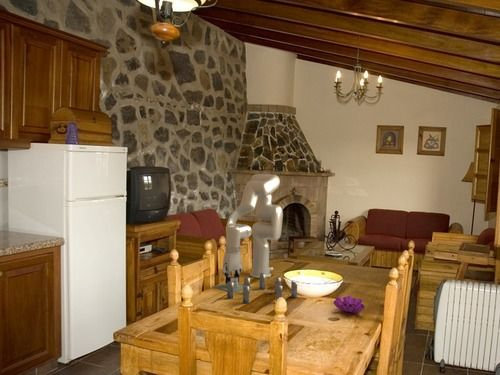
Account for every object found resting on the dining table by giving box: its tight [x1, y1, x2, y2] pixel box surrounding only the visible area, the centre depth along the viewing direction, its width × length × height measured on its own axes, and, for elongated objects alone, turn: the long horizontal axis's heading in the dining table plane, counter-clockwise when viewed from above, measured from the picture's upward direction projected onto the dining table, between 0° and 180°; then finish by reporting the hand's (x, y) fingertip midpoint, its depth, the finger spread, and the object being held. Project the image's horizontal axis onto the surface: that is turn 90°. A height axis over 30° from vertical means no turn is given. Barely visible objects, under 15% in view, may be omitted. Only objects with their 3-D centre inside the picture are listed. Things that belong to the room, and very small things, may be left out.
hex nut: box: [225, 275, 239, 288], centre depth 247 cm, size 6×6×5 cm
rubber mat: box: [213, 283, 251, 294], centre depth 247 cm, size 14×14×1 cm
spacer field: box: [226, 273, 298, 305], centre depth 230 cm, size 27×24×8 cm
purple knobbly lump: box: [333, 295, 366, 314], centre depth 212 cm, size 11×15×10 cm
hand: (232, 282), depth 247 cm, fingers open, 5 cm apart
